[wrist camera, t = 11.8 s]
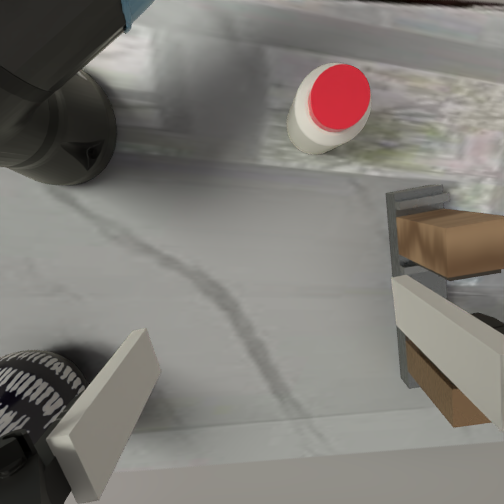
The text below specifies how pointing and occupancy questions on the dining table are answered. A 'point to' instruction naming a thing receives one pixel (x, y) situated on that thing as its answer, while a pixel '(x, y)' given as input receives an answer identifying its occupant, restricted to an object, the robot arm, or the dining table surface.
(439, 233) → the brown wooden block
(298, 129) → the pill bottle
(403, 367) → the rail
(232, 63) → the dining table surface
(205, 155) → the dining table surface
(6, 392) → the vase
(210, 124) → the dining table surface
